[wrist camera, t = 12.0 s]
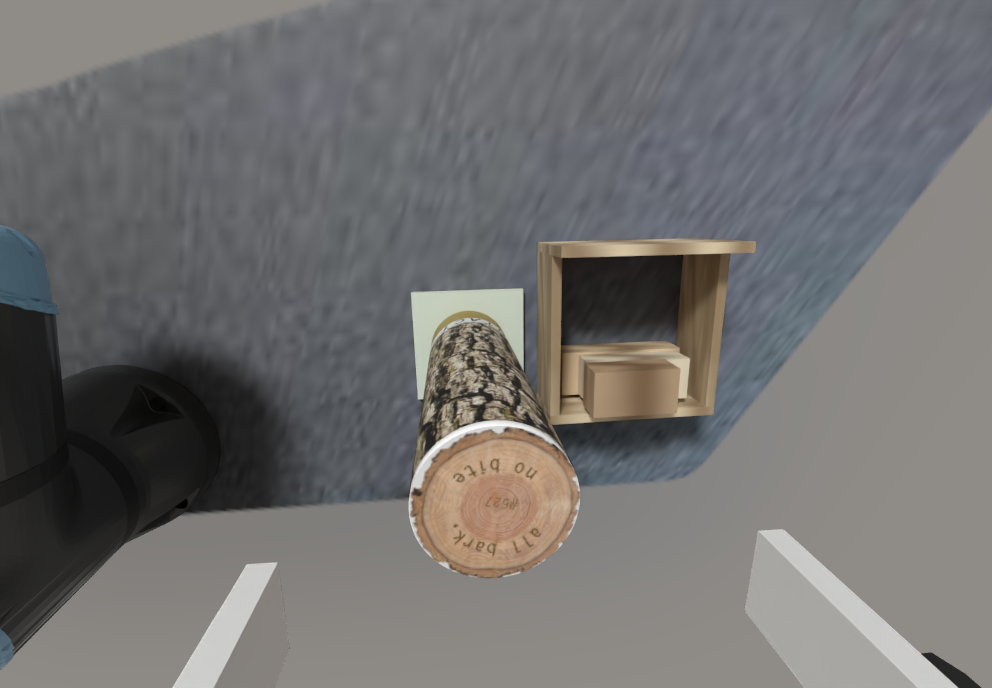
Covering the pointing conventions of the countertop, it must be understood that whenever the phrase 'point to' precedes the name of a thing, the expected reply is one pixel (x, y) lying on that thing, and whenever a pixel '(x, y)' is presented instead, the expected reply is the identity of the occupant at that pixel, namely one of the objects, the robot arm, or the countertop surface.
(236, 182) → the countertop surface
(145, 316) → the countertop surface
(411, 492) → the wooden log
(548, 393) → the wooden open box
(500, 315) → the felt mat
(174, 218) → the countertop surface
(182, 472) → the robot arm
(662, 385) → the offcut stack
